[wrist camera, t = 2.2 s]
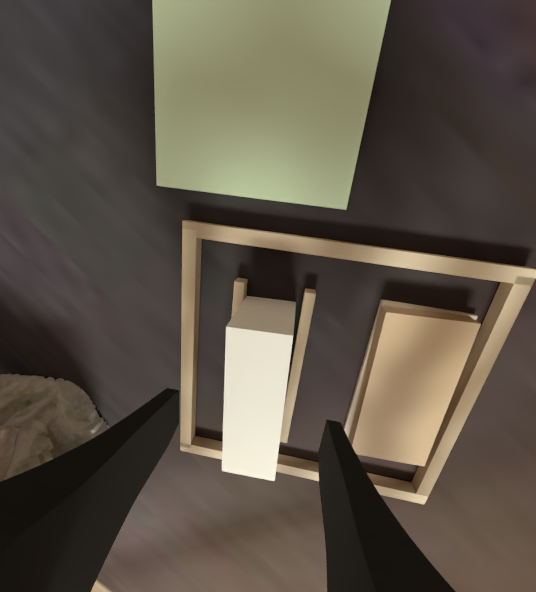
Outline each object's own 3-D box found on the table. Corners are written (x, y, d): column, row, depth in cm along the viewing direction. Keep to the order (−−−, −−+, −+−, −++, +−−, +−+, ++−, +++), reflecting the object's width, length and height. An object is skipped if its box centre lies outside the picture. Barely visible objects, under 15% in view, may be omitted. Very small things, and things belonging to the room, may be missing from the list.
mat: (402, -63, 10) (407, -76, 9) (344, 209, 13) (346, 209, 13) (157, -71, 11) (150, -84, 10) (161, 186, 14) (156, 185, 13)
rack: (525, 266, 13) (539, 270, 12) (419, 492, 18) (424, 504, 18) (188, 220, 14) (182, 220, 14) (185, 441, 20) (180, 450, 19)
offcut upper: (469, 316, 14) (481, 323, 13) (417, 452, 17) (424, 466, 16) (380, 305, 14) (386, 312, 13) (347, 439, 17) (350, 453, 16)
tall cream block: (296, 300, 15) (293, 335, 11) (281, 418, 18) (274, 481, 14) (247, 295, 15) (226, 326, 11) (240, 411, 18) (221, 470, 14)
